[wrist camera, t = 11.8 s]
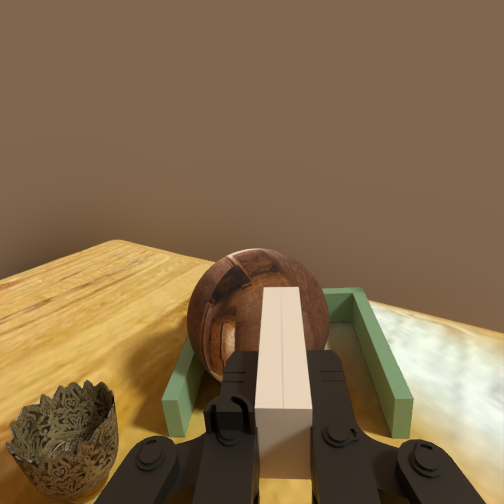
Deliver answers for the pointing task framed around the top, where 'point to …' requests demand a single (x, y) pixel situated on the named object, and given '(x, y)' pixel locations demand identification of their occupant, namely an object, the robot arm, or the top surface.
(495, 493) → the top surface
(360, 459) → the robot arm
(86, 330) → the top surface
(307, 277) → the wooden sphere
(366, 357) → the green bracket
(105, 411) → the cup
